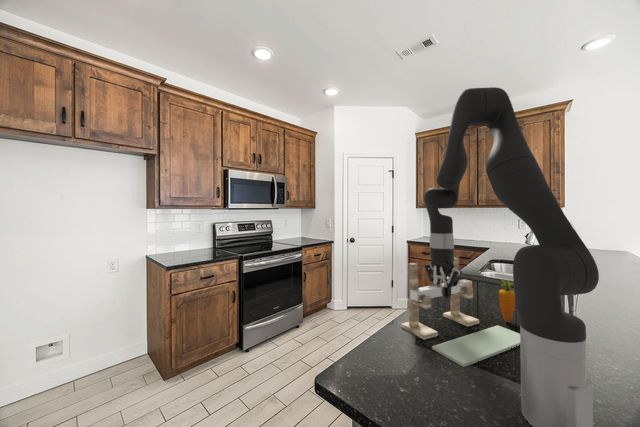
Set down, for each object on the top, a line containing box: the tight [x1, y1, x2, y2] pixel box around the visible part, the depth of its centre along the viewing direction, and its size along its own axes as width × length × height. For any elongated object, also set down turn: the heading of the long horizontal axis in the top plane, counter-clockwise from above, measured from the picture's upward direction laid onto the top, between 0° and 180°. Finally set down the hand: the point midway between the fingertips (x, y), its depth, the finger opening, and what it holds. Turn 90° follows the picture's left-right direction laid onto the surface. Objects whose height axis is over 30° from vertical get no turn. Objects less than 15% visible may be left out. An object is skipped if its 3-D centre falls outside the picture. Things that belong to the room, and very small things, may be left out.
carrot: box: [498, 278, 516, 323], centre depth 92 cm, size 5×5×15 cm
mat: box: [431, 324, 520, 368], centre depth 78 cm, size 10×30×1 cm, turn 114°
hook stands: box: [400, 257, 480, 341], centre depth 91 cm, size 10×26×22 cm, turn 114°
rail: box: [410, 278, 473, 301], centre depth 90 cm, size 3×26×3 cm, turn 114°
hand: (442, 296), depth 90 cm, fingers closed on rail, 3 cm apart
